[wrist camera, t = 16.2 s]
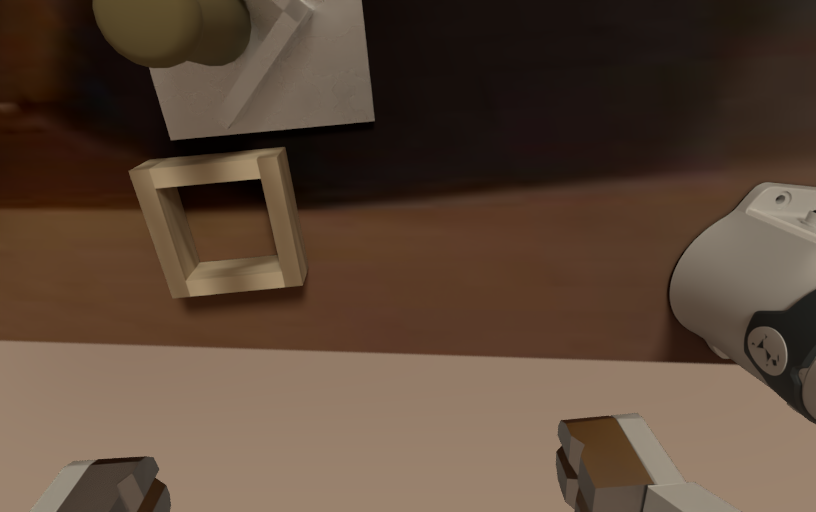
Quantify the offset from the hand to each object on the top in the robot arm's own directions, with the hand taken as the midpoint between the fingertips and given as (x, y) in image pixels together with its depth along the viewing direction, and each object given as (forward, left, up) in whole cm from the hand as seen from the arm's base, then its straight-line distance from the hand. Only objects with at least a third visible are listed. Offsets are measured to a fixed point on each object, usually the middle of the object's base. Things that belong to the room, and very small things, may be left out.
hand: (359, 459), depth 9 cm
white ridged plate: (+8, -10, -32) cm, 34 cm away
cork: (+11, -10, -31) cm, 34 cm away
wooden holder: (+13, +5, -32) cm, 35 cm away
